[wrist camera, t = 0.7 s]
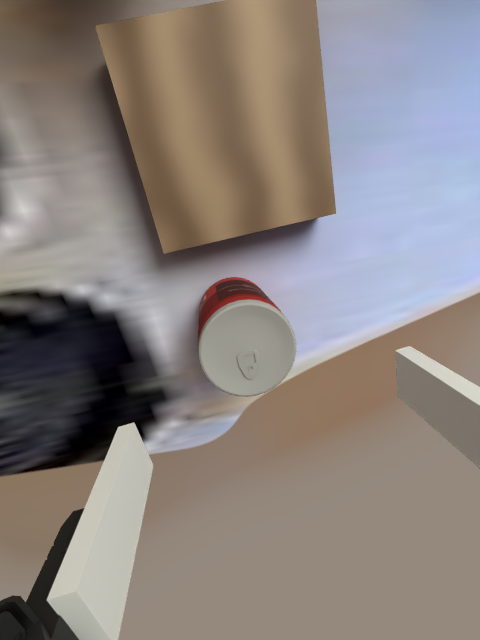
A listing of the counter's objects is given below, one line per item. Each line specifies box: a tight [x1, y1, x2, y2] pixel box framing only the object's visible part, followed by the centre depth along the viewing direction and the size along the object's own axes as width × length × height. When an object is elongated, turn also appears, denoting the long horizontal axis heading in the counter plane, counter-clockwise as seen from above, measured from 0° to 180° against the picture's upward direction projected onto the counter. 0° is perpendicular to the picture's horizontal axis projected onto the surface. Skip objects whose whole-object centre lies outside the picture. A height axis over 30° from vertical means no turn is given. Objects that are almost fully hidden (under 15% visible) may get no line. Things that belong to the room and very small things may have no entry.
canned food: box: [198, 277, 296, 397], centre depth 27 cm, size 8×8×11 cm
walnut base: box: [95, 0, 336, 254], centre depth 25 cm, size 16×16×4 cm
